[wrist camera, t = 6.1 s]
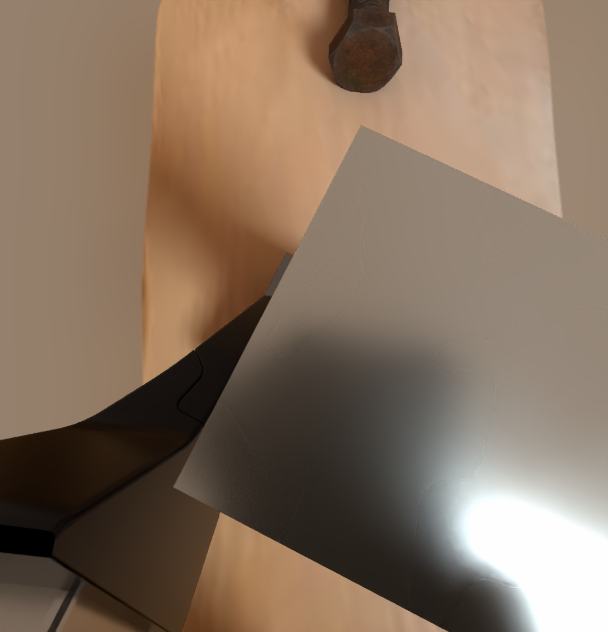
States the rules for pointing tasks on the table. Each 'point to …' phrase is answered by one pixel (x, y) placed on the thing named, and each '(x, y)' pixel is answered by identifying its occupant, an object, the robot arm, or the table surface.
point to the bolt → (366, 47)
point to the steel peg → (429, 401)
